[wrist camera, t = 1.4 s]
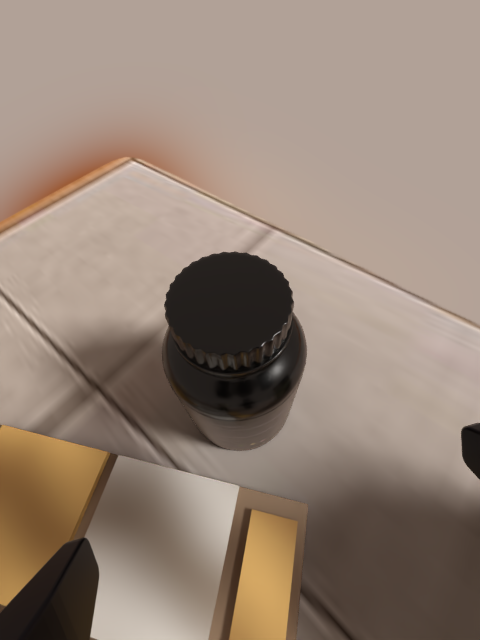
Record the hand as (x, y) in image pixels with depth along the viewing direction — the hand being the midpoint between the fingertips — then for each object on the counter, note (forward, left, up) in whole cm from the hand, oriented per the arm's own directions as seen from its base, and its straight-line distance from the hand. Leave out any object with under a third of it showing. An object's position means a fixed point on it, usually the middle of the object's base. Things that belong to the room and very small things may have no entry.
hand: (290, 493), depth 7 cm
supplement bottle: (+6, +3, -13) cm, 14 cm away
